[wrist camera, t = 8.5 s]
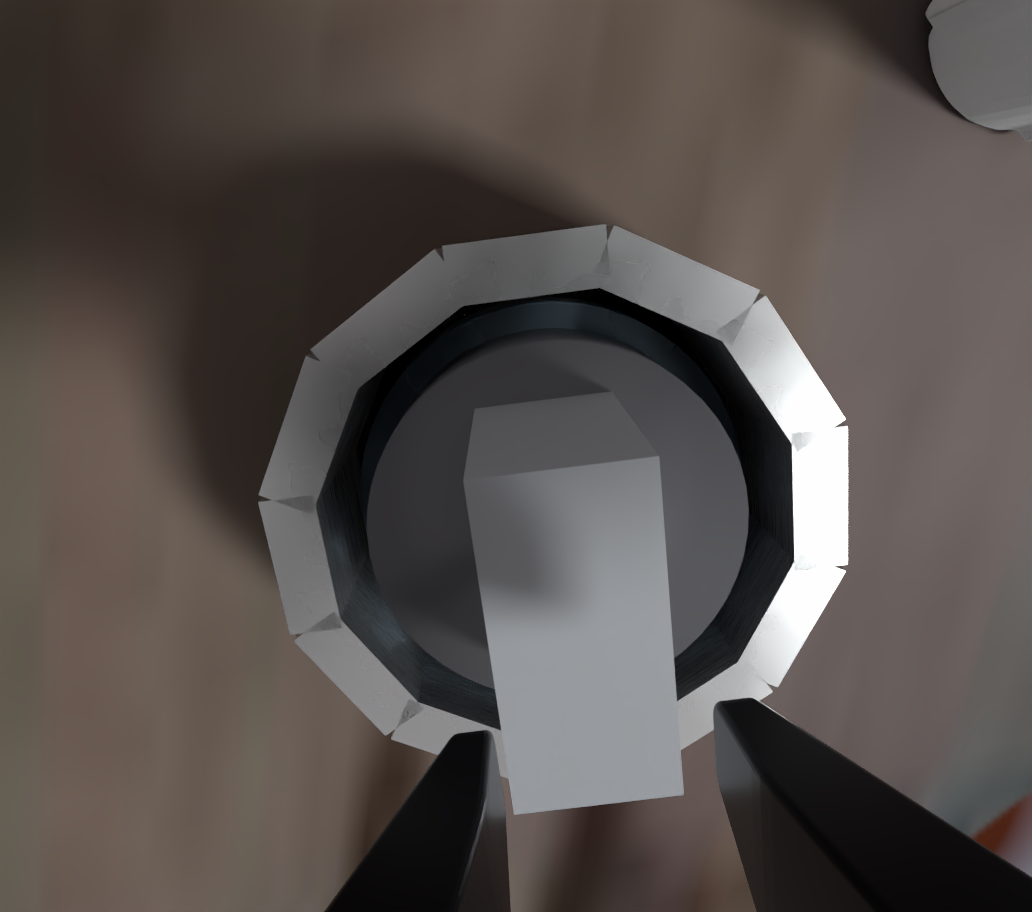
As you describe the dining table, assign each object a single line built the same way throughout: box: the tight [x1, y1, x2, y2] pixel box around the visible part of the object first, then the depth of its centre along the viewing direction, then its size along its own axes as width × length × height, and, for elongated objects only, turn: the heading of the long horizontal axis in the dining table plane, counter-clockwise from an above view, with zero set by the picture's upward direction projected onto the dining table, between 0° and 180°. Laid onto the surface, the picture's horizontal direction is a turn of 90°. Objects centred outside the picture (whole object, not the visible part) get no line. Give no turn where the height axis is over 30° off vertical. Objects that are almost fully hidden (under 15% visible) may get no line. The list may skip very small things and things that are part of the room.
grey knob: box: [367, 328, 749, 815], centre depth 12 cm, size 7×7×6 cm
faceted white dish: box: [258, 224, 848, 778], centre depth 15 cm, size 11×11×4 cm
